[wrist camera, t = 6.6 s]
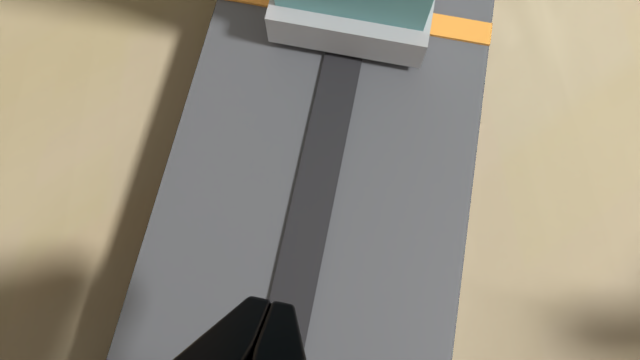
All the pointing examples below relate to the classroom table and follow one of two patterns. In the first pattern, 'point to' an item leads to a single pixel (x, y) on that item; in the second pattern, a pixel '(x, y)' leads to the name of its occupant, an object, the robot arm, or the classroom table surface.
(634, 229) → the classroom table surface
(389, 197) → the fader board
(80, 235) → the classroom table surface
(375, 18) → the fader lever
